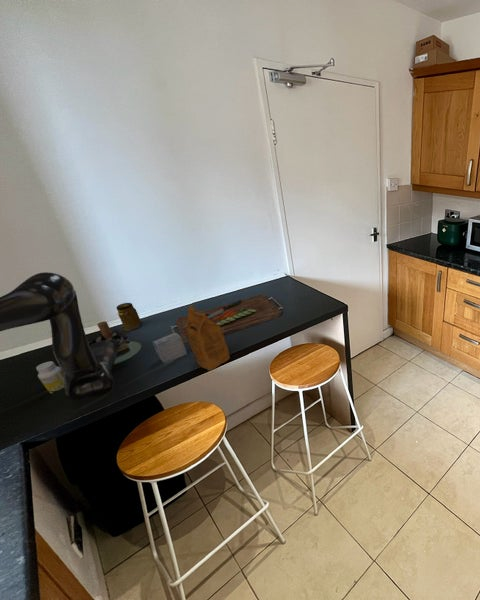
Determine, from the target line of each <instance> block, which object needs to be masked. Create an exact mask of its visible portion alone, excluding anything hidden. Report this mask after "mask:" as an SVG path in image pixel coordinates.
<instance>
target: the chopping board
mask: <svg viewBox="0 0 480 600" xmlns="http://www.w3.org/2000/svg"><path fill="white" fill-rule="evenodd" d="M271 300H272V301H271ZM284 309H285V308H284V307H283V306H282V305H281V304H280V303H279V302H278V301H277V300H276V299H274V297H273V296H269V298H268V297H267V296H266V295H265V294H258V295H255V296H252V297H248V298H244V299H239V300H237V301H233V302H229V303H226V304H222V305H219V306H215V307H212V308H209V309H205V310H201V311H197V313H208V314H209V315H210V316H208V317H207V318H208V319H210V320H211V321H213V322H214V323H216V324H217V325H219V326H220V327H221V329H222V333H223V336H225V335H228V334H231V333H235V332H237V331H241V330H244V329H246V328H250V327H252V326H255V325H258V324H262V323H264V322H267V321H268V322H269V321H270V320H274V319H277V318H279V317H281V316H282V310H284ZM187 320H188V314H187V315H183V316H181V317H178V318H176V320H175V324H176V325H170V326H169V328H170V330H171V334H173V333H175V330H174V328H177V329H178V331H179V335H180V336H181V339H182V341H183V344H186V345H188V344H189V345H190V343H189V339H188V333H187Z"/></svg>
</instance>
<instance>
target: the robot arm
mask: <svg viewBox="0 0 480 600" xmlns="http://www.w3.org/2000/svg"><path fill="white" fill-rule="evenodd" d="M46 321H49V324H50V330H51V331H50V332H51V345H52V346H51V347H52V352H53V356H54V358H55V360H56V362H57V364H58V366H59V367H60V368H61V369H62V371H63V375H64V381H65V385H64V388H63V392H64V393H63V394H64V396H65V398H66V399H68V400H70V401H72V402H79V401H84V400H89V399H93V398H97V397H102V396H105V395H107V394H110V393H111V392H112V391H113V390H114V388H115V380H114V377H113V374H112V370H113V366H114V365H115V364H114V362H115V359H116V356H117V353H118V348H119V347H120V346H121V344H123V343H126V344H128V343H130V342H131V341H130V340H129V337H128V336H127V335H126V334H124V333H123V332H119V330H118V329H112V331H111V332H112V335H111V336H109V337H108V339H107V340H105V339H104V337H103V335H102V333H100V334H99V335H98V336H97V337H96V339H95V338H91V339H90V340H88V338H87V335H86V332H85V329H84V324H83V321H82V317H81V312H80V308H79V301H78V295H77V291H76V287H75V285H74V284H73V282H71V280H70V279H68V278H67V277H66V276H63V275H61V274H58V273H56V272H47V271H46V272H39V273H35V274H33V275H31V276H30V277H28V278H27V279H25V280H24V281H23V282H22V283H20V284H18V285H17V286H16V287H15V288H14V289H13V290H11V291H10V292H8V293H6V294H4V295H2V296H0V332H3V331H6V330H10V329H16V328H20V327H25V326H30V325H33V324H38V323H42V322H46Z"/></svg>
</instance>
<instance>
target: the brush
mask: <svg viewBox="0 0 480 600" xmlns="http://www.w3.org/2000/svg"><path fill="white" fill-rule="evenodd" d="M96 326H97V327H98V329H99V332H100V334H102V335H103V337H104V339H105V340H107V339H108V337H109V336H111V335H112V332H113V331H112V329H111V328H110V326H109V323H108V322H107V321H105V320H104V321H101V322H98V323H97V324H96ZM128 351H130V349H129V347H128V345H127V344H125V343H123V344H121V346H120V347H119V348H118V353H117V356H119V355H121V354H124V353H126V352H128ZM117 356H116V357H117Z"/></svg>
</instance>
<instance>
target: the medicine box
mask: <svg viewBox="0 0 480 600" xmlns="http://www.w3.org/2000/svg"><path fill="white" fill-rule="evenodd" d="M151 343H152V345H153V348H154V350H155V352H156V354H157V356H158V359H159V360H160V361H161V362H162V363H163V365H167V364H170V363H171V362H173V361H175V360H178V359H180V358H182V357H184V356H186V355H188V352H187V349H186V347H185V343H184V342H183V339H182V337H181V335H180V334H179V333H176V332H174V333H170V334H168V335H165V336H162V337H161V338H159V339H156V340H154V341H152V342H151Z"/></svg>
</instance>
